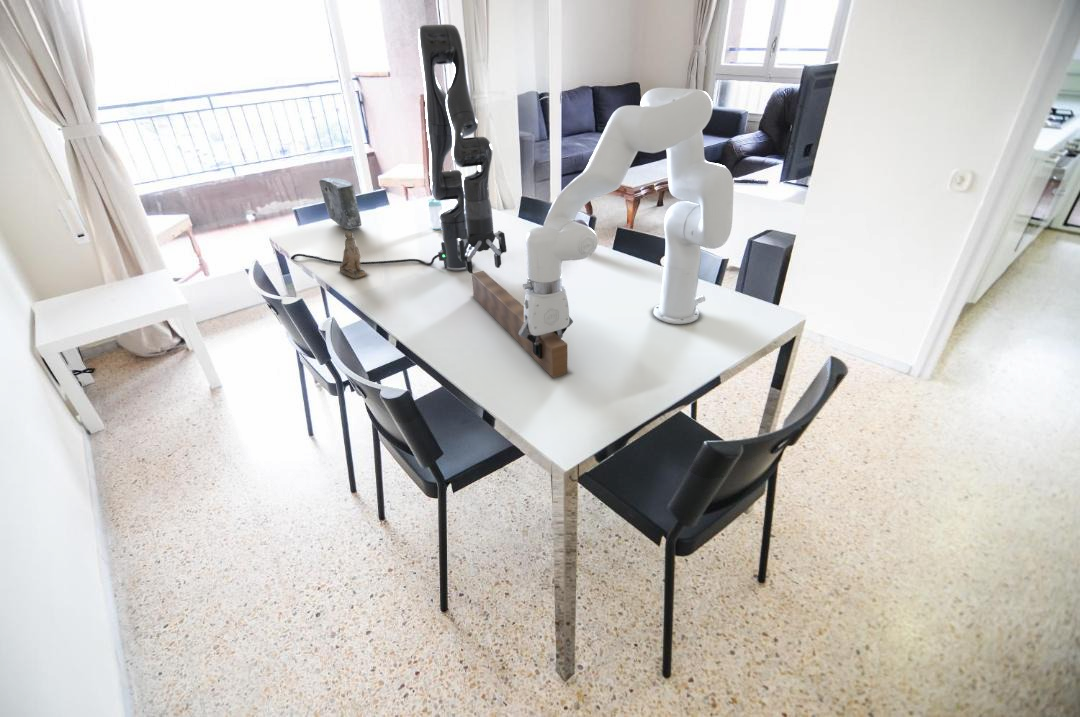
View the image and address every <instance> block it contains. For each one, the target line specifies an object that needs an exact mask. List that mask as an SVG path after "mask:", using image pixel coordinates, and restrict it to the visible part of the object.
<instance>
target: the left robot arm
mask: <svg viewBox="0 0 1080 717" xmlns="http://www.w3.org/2000/svg"><path fill="white" fill-rule="evenodd" d="M417 38H418V39H417V40H418V50H419V57H420V66H421V72H422V78H423V87H424V100H425V101H424V102H425V119H426V132H427V141H428V148H429V176H430V177H429V179H430V181H429V182H430V190H431V191H430V192H431V195H432V197H433V199H435V200H437V201H442V202H445V201H453V202H452V203H451V204H450V205H448V206H447V207H444V210H442V211H441V212H440V223H441V229H440V230H441V235H442V242H441V243H440V246H441V249H440V250H439V251H438V252H437V254H435V255H434V256H433V257H432V258H431V260H430V262H426V261H424V260H422V259H418V258H405V259H403V258H402V259H395V260H394V259H393V260H380V261H378V260H377V261H360V265H378V264H379V265H382V264H392V263H393V264H395V263H406V262H418V263H420V264H422V265H425V266H432V265H433V264H434V262H435V260H436V259H438V261H439V262H443V267H444V269H445V270H449V271H454V272H459V271H467V272H468V273H469V274H470V275H471V273H474V270H473V260H472V259H473V257H474V256H475V255H476V253H477V252H479V253H480V252H483V251H489V250H491V251H492V252H493V253H494V254H493V259H494V266H495V267H496V268H497V269H499V268H500V267H501V266H502V257H501V255H502V254H504V253H505V254H506V253H507V250H508V249H507V244H506V236H505V233H504V232H503V231H502V230H498V231H497V232H494V221H493V220H494V219H493V209H492V202H491V196H490V186H489V181H490V180H489V178H490V170H491V166H492V161H493V160H492V159H493V146H492V144H491V141H490V140H489V139H488V138H487V137H486V136H474V137H469V136H471V135H472V134H474V133H475V132H476V131H477V130H478V126H479V123H478V119H477V116H476V112H475V108H474V105H473V102H472V97H471V92H470V88H469V87H470V86H469V79H468V78H469V77H468V72H467V71H468V70H467V65H466V58H465V52H464V47H463V42H462V37H461V34H460V32H459V29H458V27H457V26H456V25H454V24H448V23H447V24H446V23H444V24H443V23H442V24H441V23H440V24H423V25H420V27H419V29H418V36H417ZM445 65H446V66H447V65H450V66H451V65H453V75H452V79H451V82H450V84H449V87H448V90H447V93H446V92H445V89H444V88H443V87H442V85H441V83H440V82H439V79H438V78H437V74H436V70H435V66H445ZM450 152H451V156H452V160H453V162H454V164H455V165H457V166H458V167H459V168H469V167H470V168H472V167H477V169H476V171H475V172H473V173H472V174H468V175H466V176H465V177H464V176H463V173H462V172H461V170H459V169H451V170H443V167H444V164H445V160H446V158H447V156H448V155H449V153H450ZM495 239H496V240H498V247H499V248H497V246H496V245H495V244H494V241H495ZM297 257H303V258H310V259H315V260H319V261H322V262H327V263H333V264H340V265H341V264H342V260H333V259H328V258H323V257H320V256H317V255H309V254H304V253H295V254H293V255H292V256H291V257H290V260H294V259H295V258H297Z"/></svg>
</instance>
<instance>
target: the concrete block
mask: <svg viewBox="0 0 1080 717" xmlns="http://www.w3.org/2000/svg"><path fill="white" fill-rule="evenodd" d="M318 183H319V186H320V191H321V195H322V198H323V201H324V205H325V209H326V212H327V215H328V217H329V218H330V219H331V220H332V221H333V222H334V223H336V224H337V225H339V226H340V227H341V228H343V229H345V230H352V229H355V228H358V227H361V226H362V219H361V214H360V210H359V205H358V200H357V195H356V190H355V187H354V184H353V183H351V182H350V181H348V180H346V179H343V178H340V177H336V176H334V177H333V176H332V177H324V178H321V179H319V181H318Z"/></svg>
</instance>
